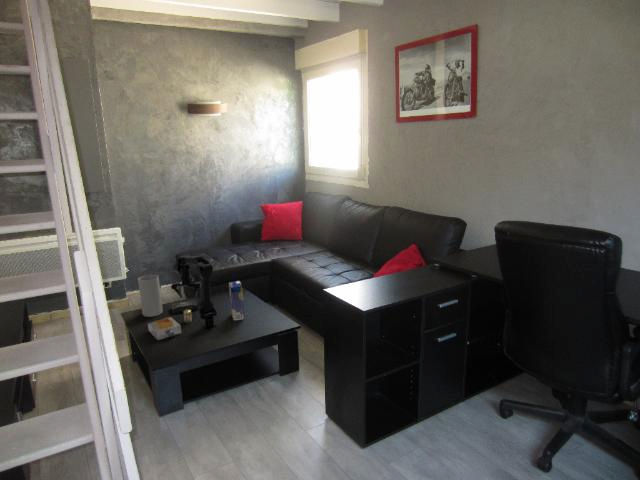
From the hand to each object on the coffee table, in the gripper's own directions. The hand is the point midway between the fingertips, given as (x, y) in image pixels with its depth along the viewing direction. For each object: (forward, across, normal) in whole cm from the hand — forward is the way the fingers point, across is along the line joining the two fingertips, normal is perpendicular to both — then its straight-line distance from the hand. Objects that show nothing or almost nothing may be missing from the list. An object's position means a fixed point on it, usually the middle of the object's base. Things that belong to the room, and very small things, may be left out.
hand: (188, 297), depth 288 cm
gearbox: (+13, +7, +25) cm, 28 cm away
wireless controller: (+13, +6, -13) cm, 19 cm away
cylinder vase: (+12, +27, -5) cm, 30 cm away
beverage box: (+13, -31, +1) cm, 34 cm away
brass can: (+13, -1, +8) cm, 15 cm away
